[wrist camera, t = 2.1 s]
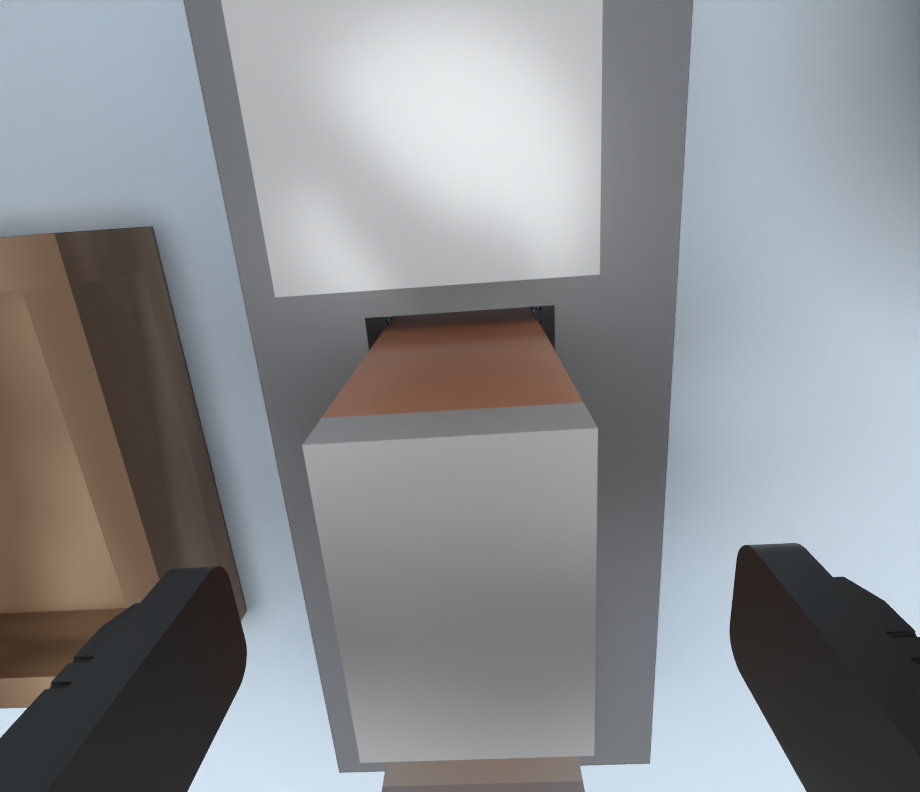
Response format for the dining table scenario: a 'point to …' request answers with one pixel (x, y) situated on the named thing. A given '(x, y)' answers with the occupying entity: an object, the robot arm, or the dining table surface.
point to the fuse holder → (563, 320)
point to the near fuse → (421, 139)
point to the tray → (92, 448)
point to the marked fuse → (461, 541)
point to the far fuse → (485, 775)
